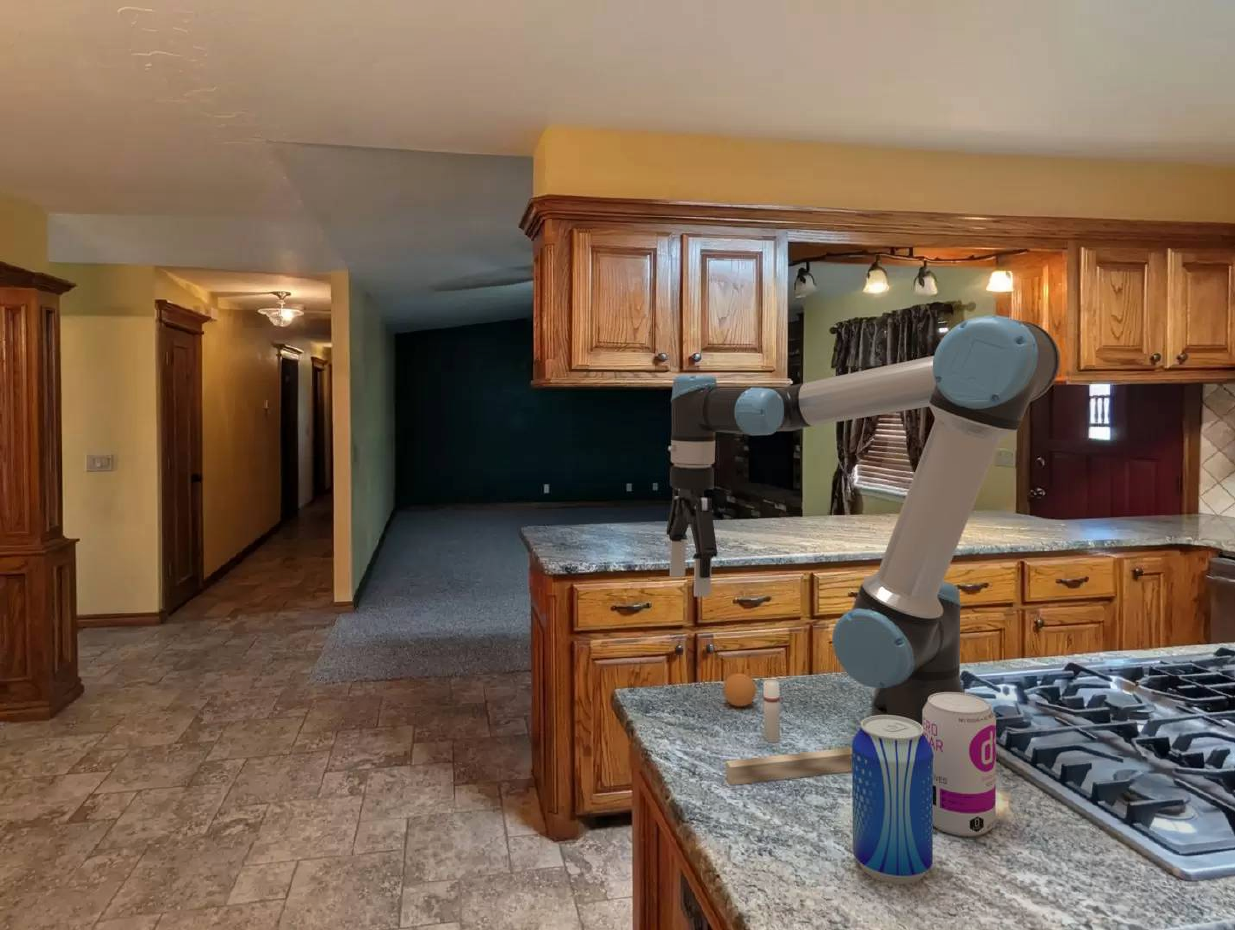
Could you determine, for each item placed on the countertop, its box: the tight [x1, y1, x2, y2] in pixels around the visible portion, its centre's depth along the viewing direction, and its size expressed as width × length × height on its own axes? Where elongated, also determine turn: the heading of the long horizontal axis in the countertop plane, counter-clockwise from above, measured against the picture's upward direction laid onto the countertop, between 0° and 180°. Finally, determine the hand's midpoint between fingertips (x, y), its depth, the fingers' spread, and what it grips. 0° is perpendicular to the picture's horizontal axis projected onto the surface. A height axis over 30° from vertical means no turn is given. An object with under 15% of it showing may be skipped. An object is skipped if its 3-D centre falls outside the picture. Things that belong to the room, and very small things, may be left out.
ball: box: [722, 672, 757, 707], centre depth 141 cm, size 6×6×6 cm
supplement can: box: [922, 692, 997, 837], centre depth 100 cm, size 8×8×15 cm
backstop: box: [725, 747, 852, 786], centre depth 115 cm, size 22×2×2 cm, turn 101°
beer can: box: [851, 715, 934, 885], centre depth 91 cm, size 8×8×16 cm
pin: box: [762, 679, 781, 744], centre depth 126 cm, size 2×2×9 cm
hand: (689, 585), depth 144 cm, fingers open, 13 cm apart
